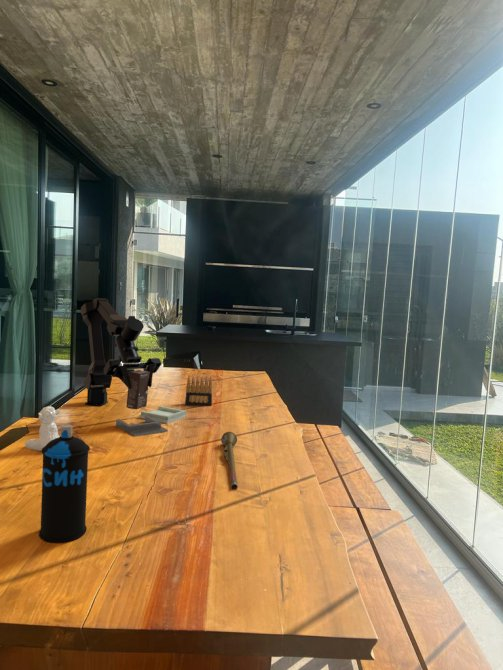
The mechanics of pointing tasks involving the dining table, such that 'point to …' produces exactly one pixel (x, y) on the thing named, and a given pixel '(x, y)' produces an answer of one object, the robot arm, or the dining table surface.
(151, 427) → the socket bracket
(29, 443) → the sitting furry creature
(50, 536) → the aerosol can
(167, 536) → the dining table surface
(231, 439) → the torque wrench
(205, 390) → the ammunition clip
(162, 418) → the tray
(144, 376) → the box
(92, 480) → the dining table surface
